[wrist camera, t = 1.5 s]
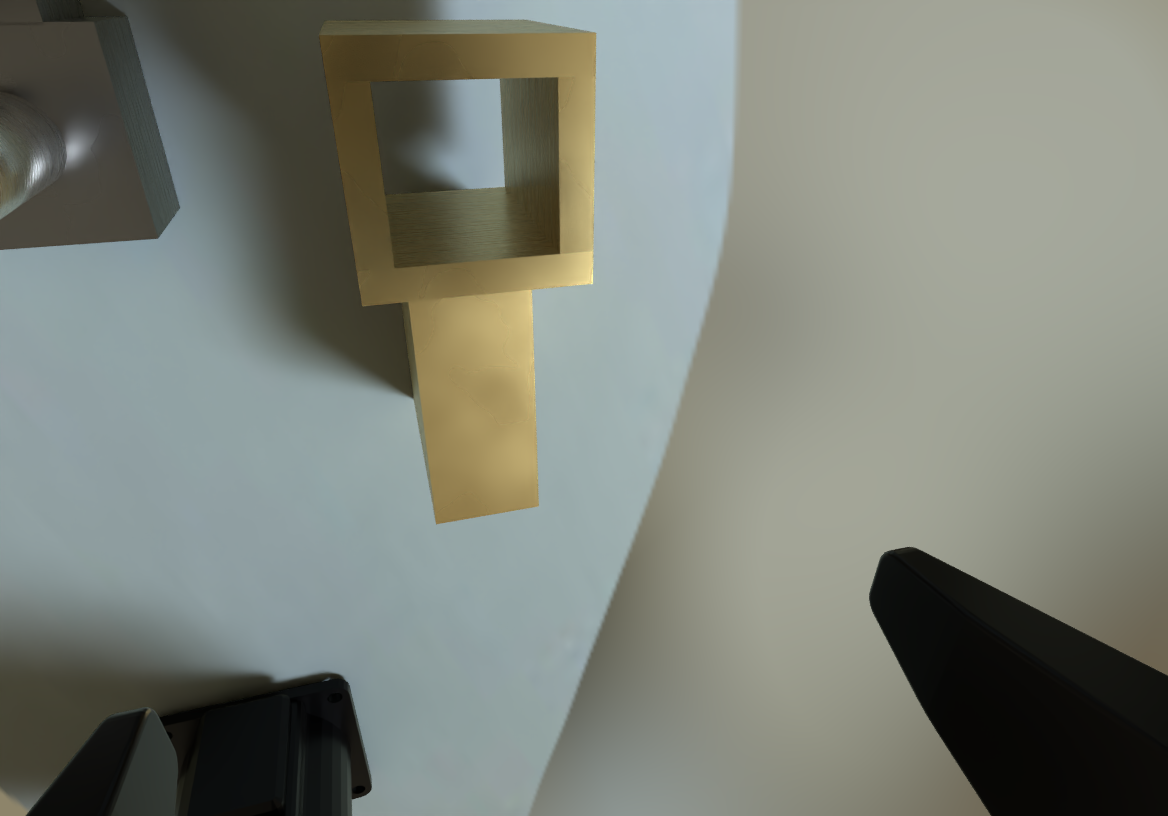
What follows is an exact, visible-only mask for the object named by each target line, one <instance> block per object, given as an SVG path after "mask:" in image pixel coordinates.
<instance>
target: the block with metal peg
mask: <svg viewBox="0 0 1168 816" xmlns="http://www.w3.org/2000/svg"><path fill="white" fill-rule="evenodd" d="M179 209H180V206H179V202H178V199H177V195H176V191H175V188H174V184H173V181H172V177H171V173H170V170H169V166H168V163H167V159H166V155H165V152H164V148H163V145H162V141H161V137H160V134H159V130H158V126H157V123H156V119H155V116H154V112H153V108H152V105H151V101H150V98H149V94H148V90H147V87H146V83H145V80H144V76H143V72H142V69H141V65H140V61H139V58H138V54H137V51H136V47H135V43H134V40H133V36H132V33H131V29H130V25H129V22H128V18H127V17H84V15H83V12H82V9H81V5H80V2H79V0H0V250H4V249H18V248H32V247H46V246H60V245H74V244H88V243H102V242H116V241H130V240H144V239H158V238H159V237H160V235H161V234H162V232H163V231H164V230H165V228H166V227H167V225H168V224H169V223H170V221H171V220H172V218H173V217H174V216H175V214H176V213H177V211H178V210H179Z"/></svg>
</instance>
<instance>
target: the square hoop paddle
mask: <svg viewBox="0 0 1168 816" xmlns="http://www.w3.org/2000/svg"><path fill="white" fill-rule="evenodd" d="M319 40H320V46H321V52H322V58H323V65H324V71H325V77H326V83H327V90H328V96H329V102H330V108H331V115H332V121H333V127H334V133H335V140H336V146H337V152H338V158H339V164H340V171H341V177H342V183H343V189H344V196H345V202H346V208H347V214H348V221H349V227H350V233H351V239H352V246H353V252H354V258H355V264H356V271H357V277H358V283H359V289H360V296H361V302H362V306H372V305H382V304H392V303H401V306H402V314H403V321H404V329H405V337H406V344H407V352H408V360H409V367H410V375H411V383H412V390H413V398H414V404H415V409H416V415H417V420H418V426H419V432H420V437H421V443H422V448H423V454H424V459H425V465H426V471H427V476H428V482H429V487H430V493H431V498H432V504H433V509H434V515H435V521H436V524H440V523H446V522H452V521H457V520H463V519H469V518H474V517H480V516H486V515H492V514H497V513H503V512H509V511H514V510H520V509H526V508H532V507H537V506H539V500H538V469H537V438H536V406H535V375H534V344H533V313H532V290H534V289H544V288H554V287H564V286H574V285H584V284H593V230H594V155H595V79H596V33H595V32H589V31H584V30H579V29H573V28H568V27H562V26H557V25H551V24H546V23H541V22H535V21H530V20H326V21H324V24H323V26H322V29H321V31H320V33H319ZM459 79H500V92H501V113H502V133H503V154H504V175H505V187H498V188H482V189H466V190H450V191H434V192H417V193H401V194H385V191H384V184H383V176H382V169H381V161H380V153H379V146H378V138H377V131H376V123H375V115H374V108H373V100H372V93H371V85H370V82H378V81H418V80H459Z"/></svg>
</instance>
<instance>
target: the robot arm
mask: <svg viewBox="0 0 1168 816" xmlns="http://www.w3.org/2000/svg"><path fill="white" fill-rule="evenodd" d="M869 600H870V606H871V609H872V612H873V614H874V616H875V618H876V620H877V621H878V623H879V625H880V627H881V629H882V631H883V633H884V635H885V637H886V639H887V640H888V643H889V645H890V646H891V648H892V651H893V652H894V654H895V656H896V658H897V660H898V662H899V664H900V666H901V668H902V670H903V672H904V674H905V676H906V677H907V680H908V681H909V683H910V685H911V687H912V689H913V691H914V693H915V695H916V697H917V699H918V701H919V702H920V704H921V706H922V708H923V709H924V711H925V713H926V715H927V716H928V718H929V720H930V721H931V723H932V725H933V726H934V728H935V729H936V731H937V733H938V734H939V736H940V737H941V739H942V740H943V742H944V743H945V745H946V747H947V748H948V750H949V751H950V752H951V754H952V756H953V757H954V759H955V760H956V762H957V763H958V765H959V767H960V768H961V770H962V771H963V773H964V775H965V776H966V777H967V779H968V781H969V782H970V784H971V785H972V787H973V789H974V790H975V791H976V793H977V795H978V796H979V798H980V799H981V801H982V803H983V804H984V806H985V807H986V809H987V810H988V812H989V813H990V815H991V816H1168V675H1165V674H1163V673H1162V672H1159V671H1158V670H1156V669H1154V668H1152V667H1150V666H1148V665H1146V664H1144V663H1142V662H1140V661H1138V660H1136V659H1134V658H1132V657H1130V656H1128V655H1126V654H1124V653H1122V652H1120V651H1118V650H1116V649H1114V648H1112V647H1110V646H1108V645H1107V644H1105V643H1103V642H1100V641H1098V640H1097V639H1095V638H1092V637H1091V636H1089V635H1087V634H1085V633H1083V632H1081V631H1079V630H1077V629H1075V628H1073V627H1071V626H1069V625H1067V624H1065V623H1063V622H1061V621H1059V620H1057V619H1055V618H1053V617H1051V616H1049V615H1047V614H1045V613H1043V612H1041V611H1039V610H1038V609H1036V608H1034V607H1031V606H1030V605H1028V604H1026V603H1024V602H1022V601H1020V600H1018V599H1016V598H1014V597H1012V596H1010V595H1008V594H1006V593H1004V592H1002V591H1000V590H998V589H996V588H994V587H992V586H990V585H988V584H986V583H984V582H982V581H980V580H978V579H976V578H975V577H973V576H971V575H969V574H967V573H965V572H963V571H961V570H959V569H957V568H955V567H953V566H950V565H949V564H947V563H945V562H943V561H941V560H939V559H937V558H935V557H933V556H931V555H929V554H927V553H925V552H923V551H921V550H919V549H917V548H913V547H905V548H900V549H895V550H891V551H887V552H885V553H884V554H883V555H882V556H881V558H880V561H879V564H878V567H877V570H876V573H875V576H874V580H873V583H872V586H871V589H870V593H869ZM333 693H336V694H333ZM371 788H372V781H371V774H370V769H369V765H368V761H367V757H366V753H365V748H364V744H363V740H362V736H361V732H360V727H359V723H358V719H357V715H356V711H355V706H354V702H353V698H352V694H351V690H350V685H349V684H348V682H346V681H345V680H342V679H332V680H328V681H323V682H319V683H314V684H310V685H305V686H301V687H296V688H292V689H287V690H282V691H278V692H273V693H269V694H264V695H260V696H255V697H251V698H246V699H242V700H237V701H232V702H228V703H223V704H219V705H214V706H210V707H205V708H201V709H196V710H192V711H187V712H183V713H178V714H173V715H169V716H164V717H161V718H159V716H158V715H157V713H156V712H155V710H153V709H152V708H149V707H144V708H139V709H135V710H130V711H125V712H120V713H116V714H113V715H111V716H109V717H107V718H106V719H105V720H104V721H103V722H102V723H101V724H100V725H99V726H98V727H97V729H96V730H95V731H94V732H93V734H92V735H91V736H90V737H89V739H88V740H87V741H86V742H85V743H84V745H83V746H82V747H81V748H80V750H79V751H78V752H77V753H76V754H75V756H74V757H73V758H72V759H71V761H70V762H69V763H68V764H67V766H66V767H65V768H64V769H63V770H62V772H61V773H60V774H59V775H58V777H57V778H56V779H55V780H54V781H53V783H52V784H51V785H50V786H49V788H48V789H47V790H46V791H45V793H44V794H43V795H42V796H41V797H40V799H39V800H38V801H37V802H36V804H35V805H34V806H33V807H32V808H31V810H30V811H29V812H28V813H27V815H26V816H352V799H356V798H359V797H362V796H365V795H367V794H368V793H369V792H370V791H371Z"/></svg>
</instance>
